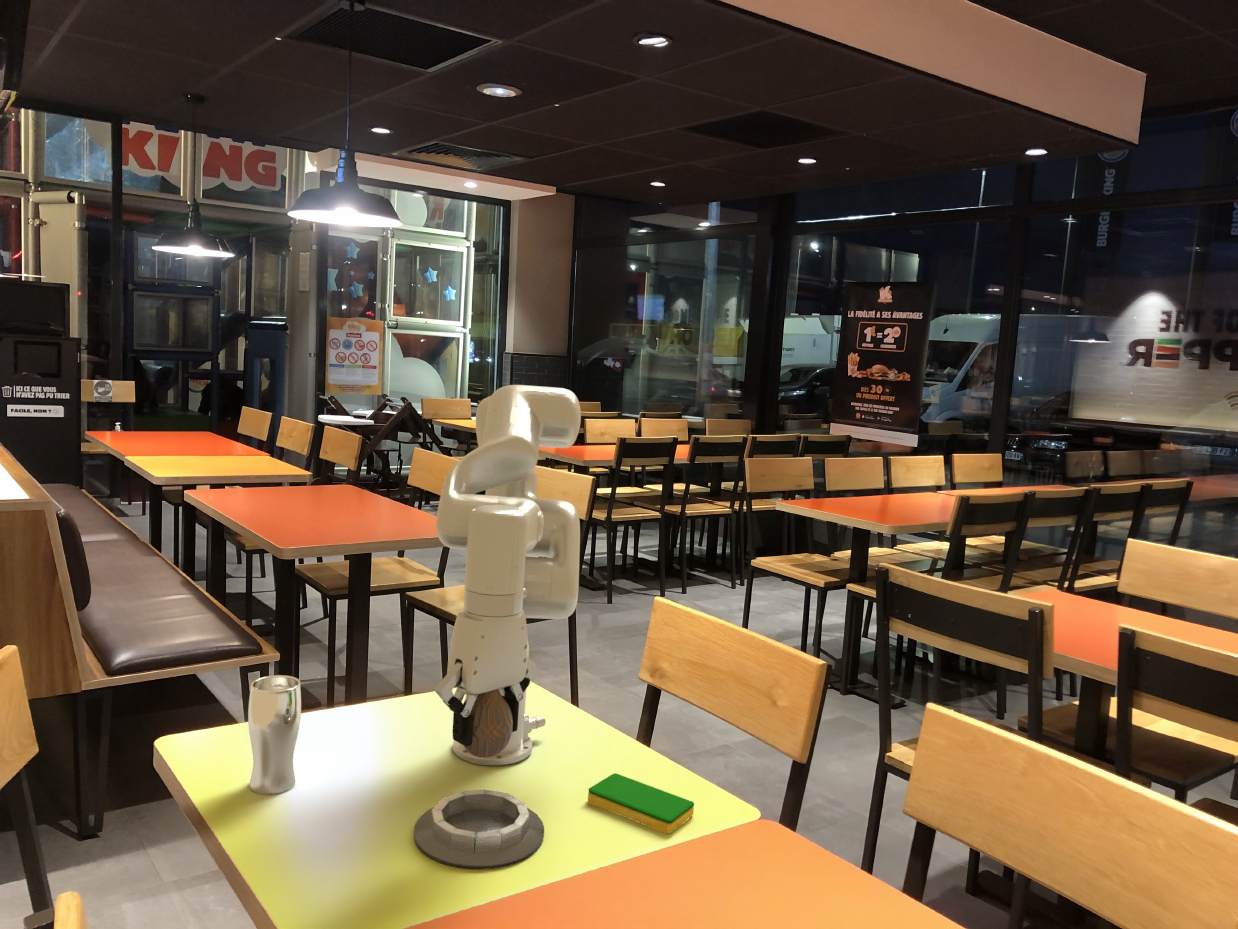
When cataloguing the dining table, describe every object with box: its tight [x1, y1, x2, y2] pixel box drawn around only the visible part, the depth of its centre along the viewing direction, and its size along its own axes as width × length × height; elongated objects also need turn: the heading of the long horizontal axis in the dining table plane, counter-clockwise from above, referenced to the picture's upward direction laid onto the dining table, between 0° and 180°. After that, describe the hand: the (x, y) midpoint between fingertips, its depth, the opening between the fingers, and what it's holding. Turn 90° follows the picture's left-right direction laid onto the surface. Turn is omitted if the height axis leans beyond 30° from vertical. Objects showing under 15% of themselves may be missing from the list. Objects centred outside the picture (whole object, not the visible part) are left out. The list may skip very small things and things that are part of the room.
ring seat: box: [413, 789, 545, 870], centre depth 122 cm, size 17×17×3 cm
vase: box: [463, 689, 513, 758], centre depth 120 cm, size 7×7×9 cm
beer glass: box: [247, 674, 302, 796], centre depth 130 cm, size 7×7×15 cm
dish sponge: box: [587, 773, 695, 835], centre depth 132 cm, size 7×14×2 cm, turn 56°
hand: (485, 734), depth 121 cm, fingers closed on vase, 6 cm apart
